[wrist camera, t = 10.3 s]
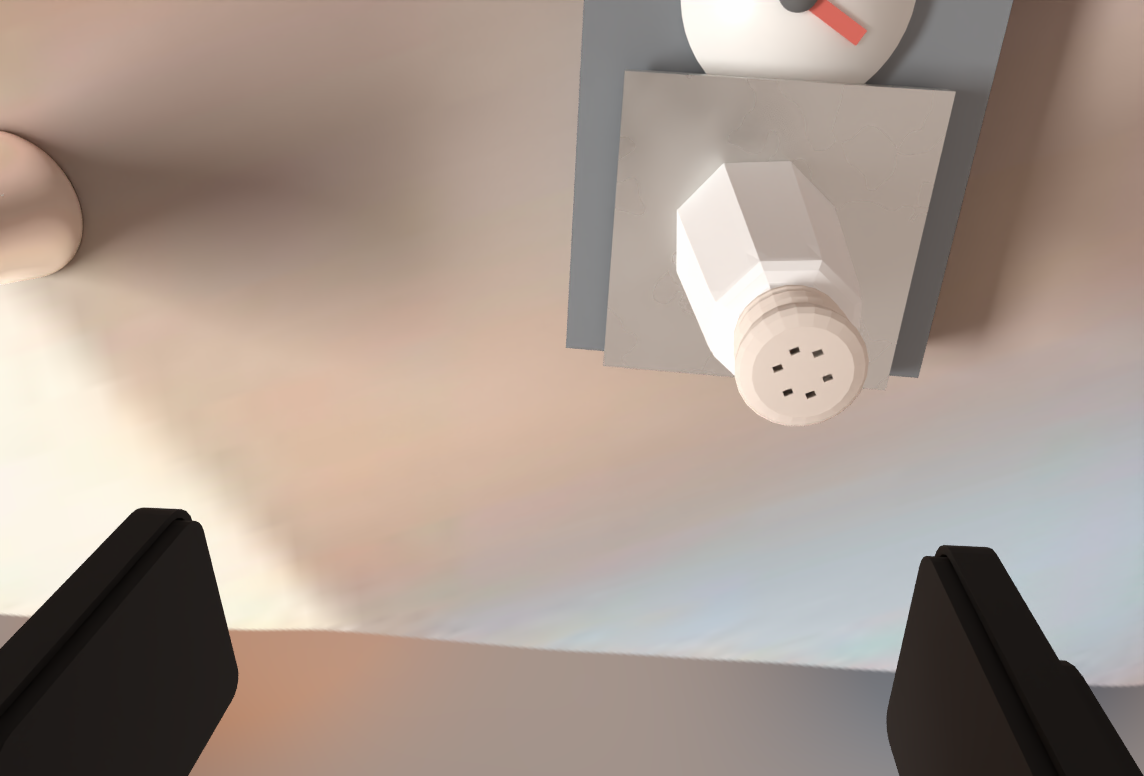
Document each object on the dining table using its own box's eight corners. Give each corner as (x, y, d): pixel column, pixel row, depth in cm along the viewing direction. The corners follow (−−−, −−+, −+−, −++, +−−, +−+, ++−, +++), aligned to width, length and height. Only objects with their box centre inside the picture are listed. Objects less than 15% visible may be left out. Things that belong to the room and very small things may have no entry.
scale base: (598, -138, 27) (589, -159, 24) (1007, -119, 26) (1061, -138, 23) (573, 319, 34) (562, 357, 31) (897, 346, 33) (925, 389, 30)
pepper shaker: (859, 279, 28) (967, 435, 18) (705, 338, 29) (727, 513, 19) (805, 125, 26) (893, 204, 16) (645, 196, 27) (634, 309, 17)
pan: (625, 68, 27) (624, 70, 26) (947, 89, 26) (955, 91, 25) (604, 357, 31) (603, 365, 30) (880, 381, 30) (885, 390, 29)
